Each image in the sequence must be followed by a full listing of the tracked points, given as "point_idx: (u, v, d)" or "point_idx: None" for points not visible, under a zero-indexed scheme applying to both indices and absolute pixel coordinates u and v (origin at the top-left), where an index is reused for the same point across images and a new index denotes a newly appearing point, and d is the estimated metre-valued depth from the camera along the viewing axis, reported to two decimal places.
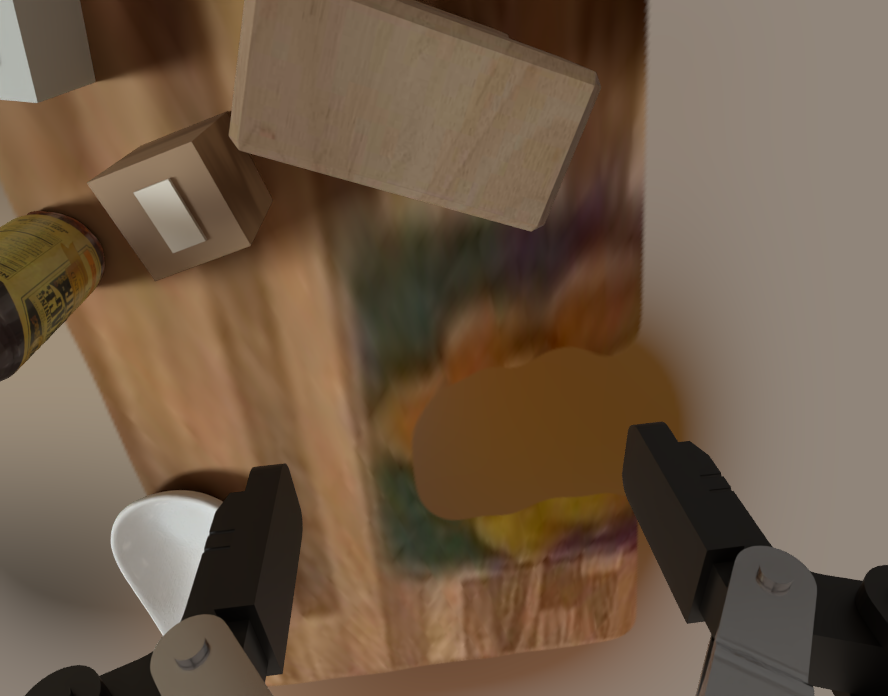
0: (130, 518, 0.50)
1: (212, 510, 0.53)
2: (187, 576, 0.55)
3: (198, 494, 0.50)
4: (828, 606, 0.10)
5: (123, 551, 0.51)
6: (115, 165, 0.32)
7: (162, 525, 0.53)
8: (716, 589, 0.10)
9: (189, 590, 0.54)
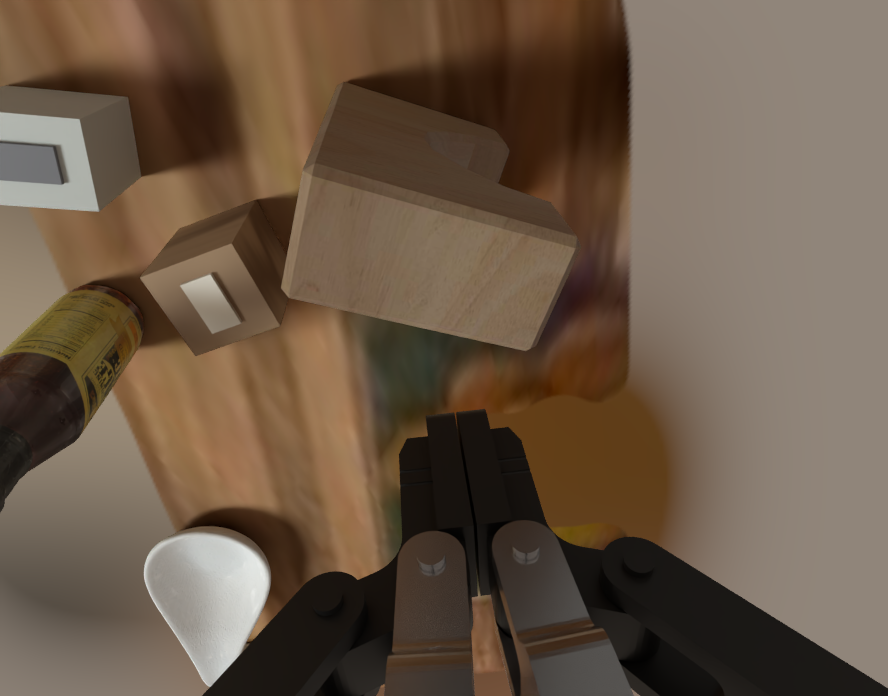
0: (162, 552, 0.55)
1: (236, 543, 0.57)
2: (212, 603, 0.59)
3: (224, 530, 0.54)
4: (576, 574, 0.10)
5: (155, 582, 0.56)
6: (161, 256, 0.36)
7: (190, 557, 0.58)
8: (489, 561, 0.11)
9: (214, 616, 0.59)
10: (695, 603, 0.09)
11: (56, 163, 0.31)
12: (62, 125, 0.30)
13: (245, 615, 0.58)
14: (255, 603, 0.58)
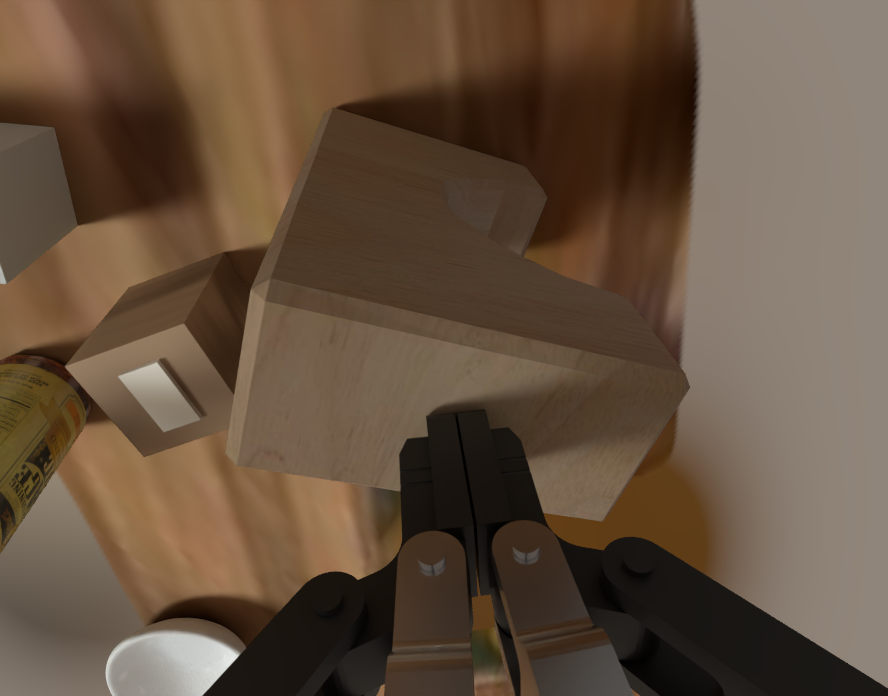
0: (126, 651, 0.47)
1: None
2: None
3: (199, 626, 0.46)
4: (576, 575, 0.10)
5: (119, 683, 0.48)
6: (98, 332, 0.28)
7: (161, 650, 0.50)
8: (490, 561, 0.11)
9: None
10: (695, 603, 0.09)
11: None
12: None
13: None
14: None
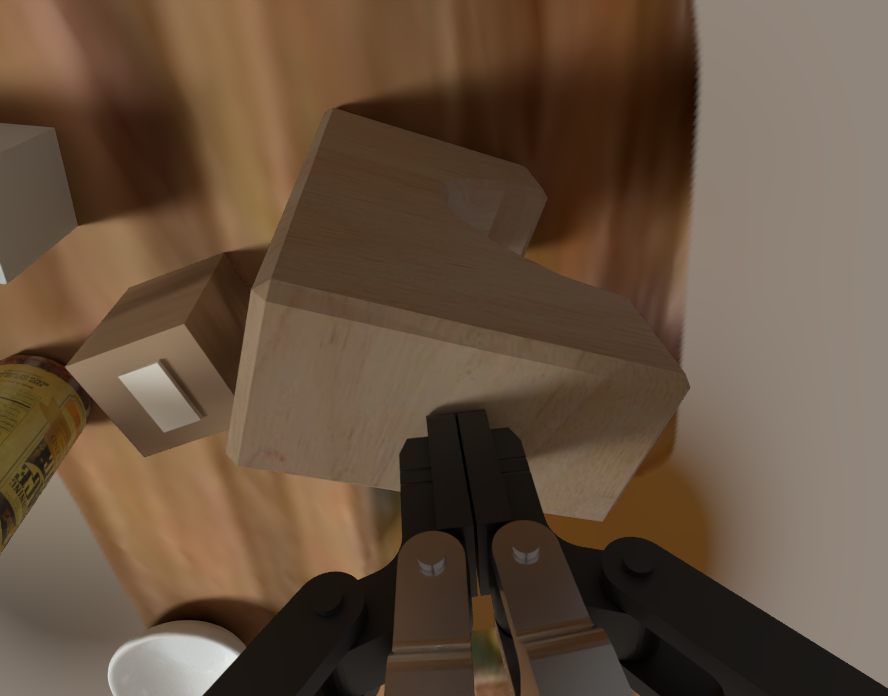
0: (128, 653, 0.47)
1: None
2: None
3: (200, 628, 0.47)
4: (575, 575, 0.10)
5: (121, 685, 0.48)
6: (98, 332, 0.28)
7: (163, 652, 0.50)
8: (489, 561, 0.11)
9: None
10: (695, 603, 0.09)
11: None
12: None
13: None
14: None
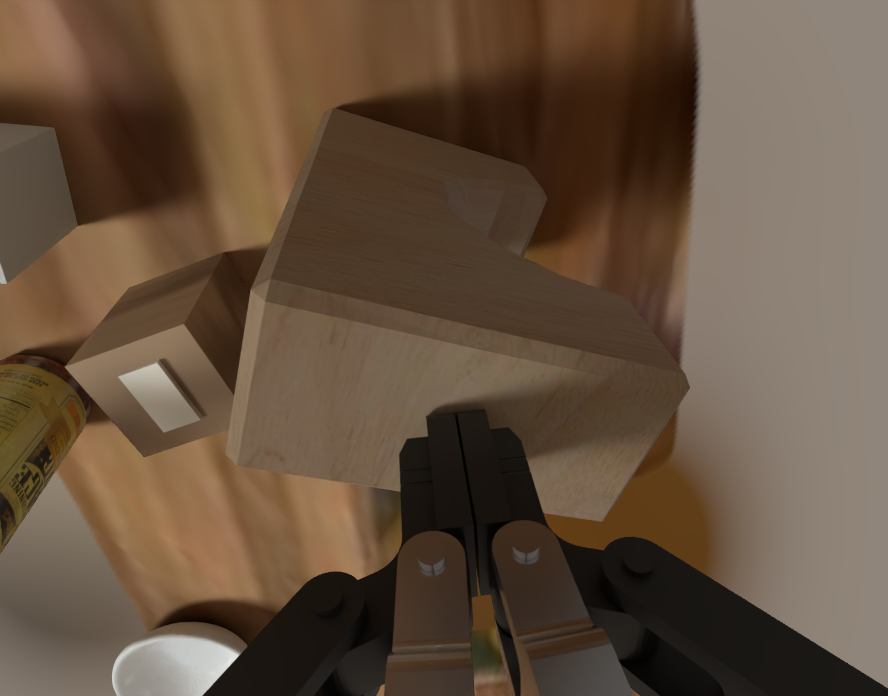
0: (133, 654, 0.47)
1: None
2: None
3: (205, 630, 0.47)
4: (576, 575, 0.10)
5: (125, 686, 0.48)
6: (98, 332, 0.28)
7: (167, 653, 0.50)
8: (490, 561, 0.11)
9: None
10: (695, 603, 0.09)
11: None
12: None
13: None
14: None
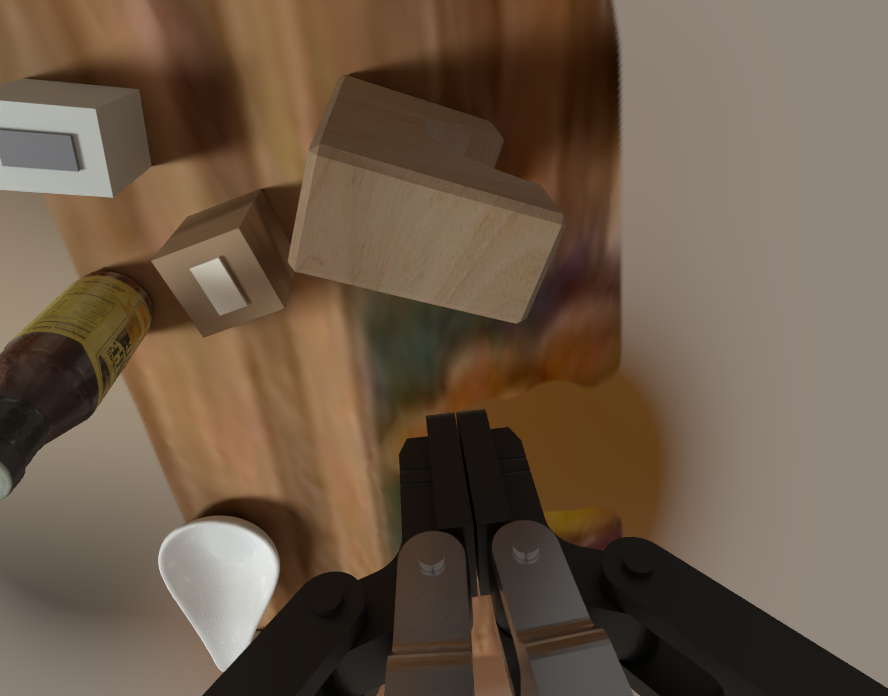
0: (175, 541, 0.57)
1: (246, 532, 0.59)
2: (224, 590, 0.61)
3: (234, 519, 0.57)
4: (576, 574, 0.10)
5: (169, 569, 0.58)
6: (171, 241, 0.38)
7: (202, 546, 0.60)
8: (490, 561, 0.11)
9: (226, 603, 0.61)
10: (695, 603, 0.09)
11: (73, 151, 0.33)
12: (79, 114, 0.32)
13: (256, 601, 0.61)
14: (265, 590, 0.60)
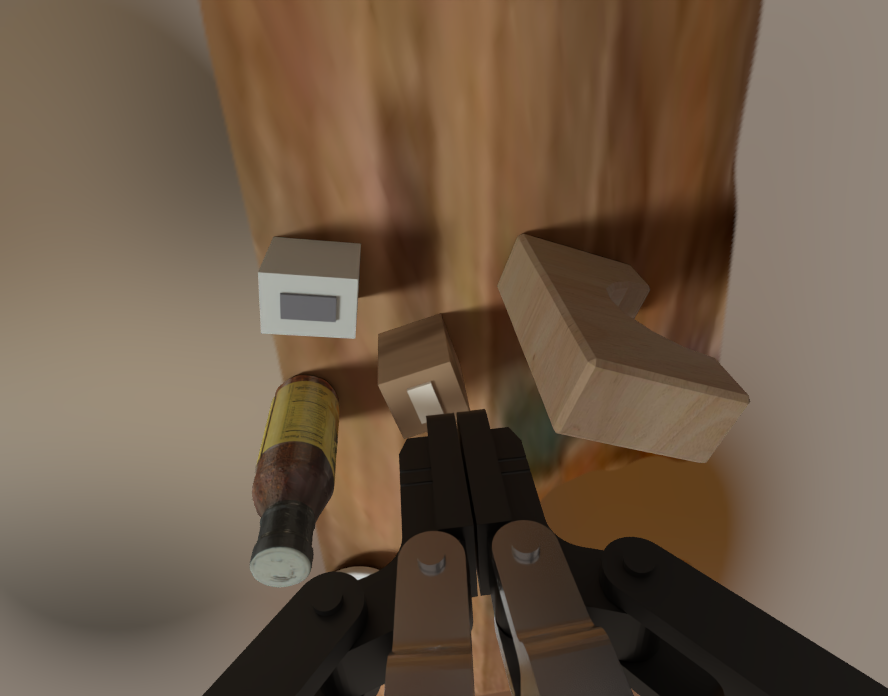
0: None
1: None
2: None
3: (374, 570, 0.66)
4: (575, 575, 0.10)
5: None
6: (383, 364, 0.48)
7: None
8: (489, 561, 0.11)
9: None
10: (695, 603, 0.09)
11: (335, 308, 0.43)
12: (345, 283, 0.42)
13: None
14: None
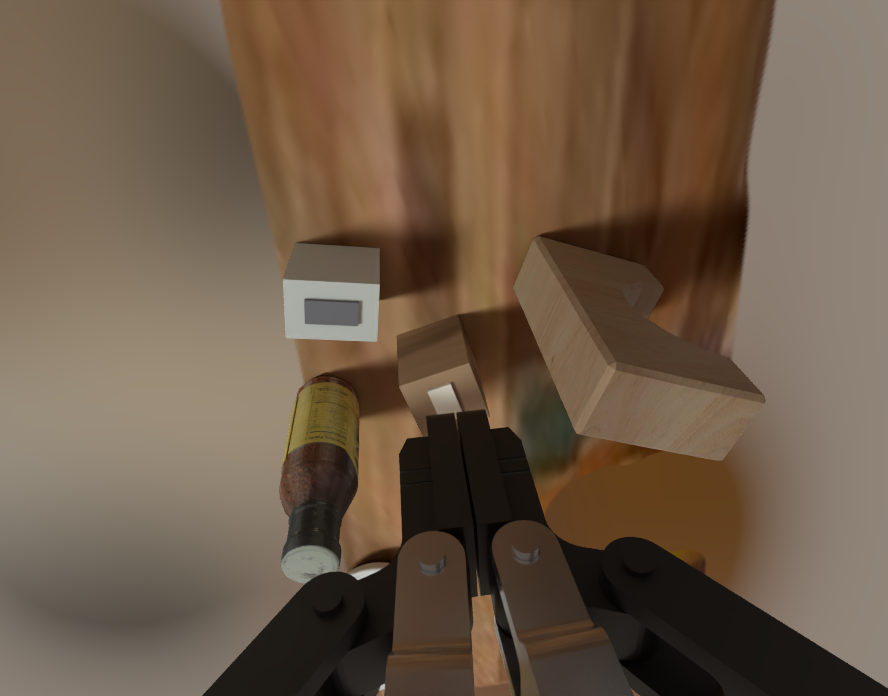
0: None
1: None
2: None
3: None
4: (575, 575, 0.10)
5: None
6: (403, 365, 0.49)
7: None
8: (489, 561, 0.11)
9: None
10: (695, 603, 0.09)
11: (358, 312, 0.44)
12: (367, 288, 0.43)
13: None
14: None
